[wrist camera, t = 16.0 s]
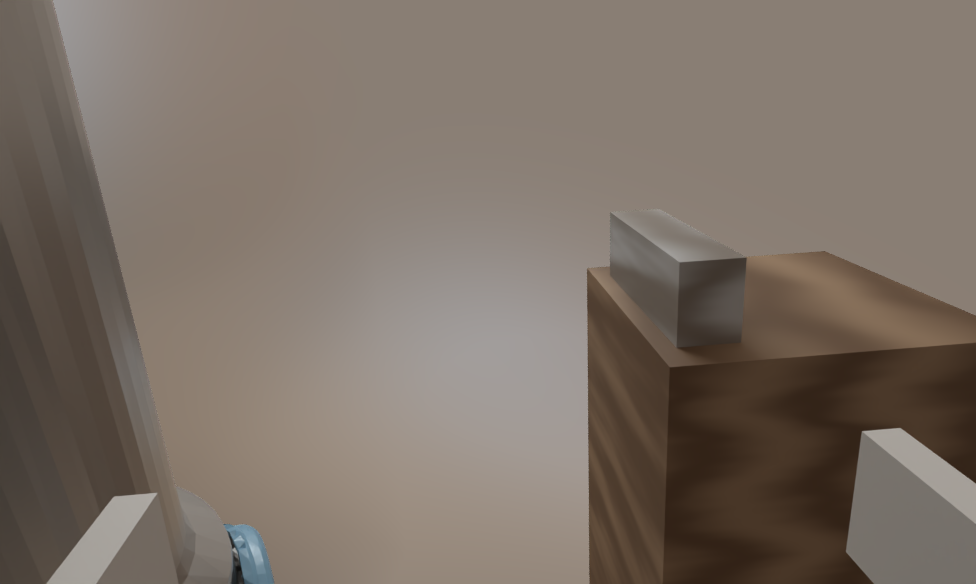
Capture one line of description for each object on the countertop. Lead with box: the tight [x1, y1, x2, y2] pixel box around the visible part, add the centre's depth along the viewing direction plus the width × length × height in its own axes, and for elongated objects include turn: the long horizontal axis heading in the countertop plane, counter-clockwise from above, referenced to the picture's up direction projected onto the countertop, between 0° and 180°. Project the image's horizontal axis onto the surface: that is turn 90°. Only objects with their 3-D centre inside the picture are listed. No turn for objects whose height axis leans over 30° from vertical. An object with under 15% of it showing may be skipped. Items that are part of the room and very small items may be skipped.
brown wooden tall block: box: [587, 209, 976, 584], centre depth 40 cm, size 16×16×34 cm
